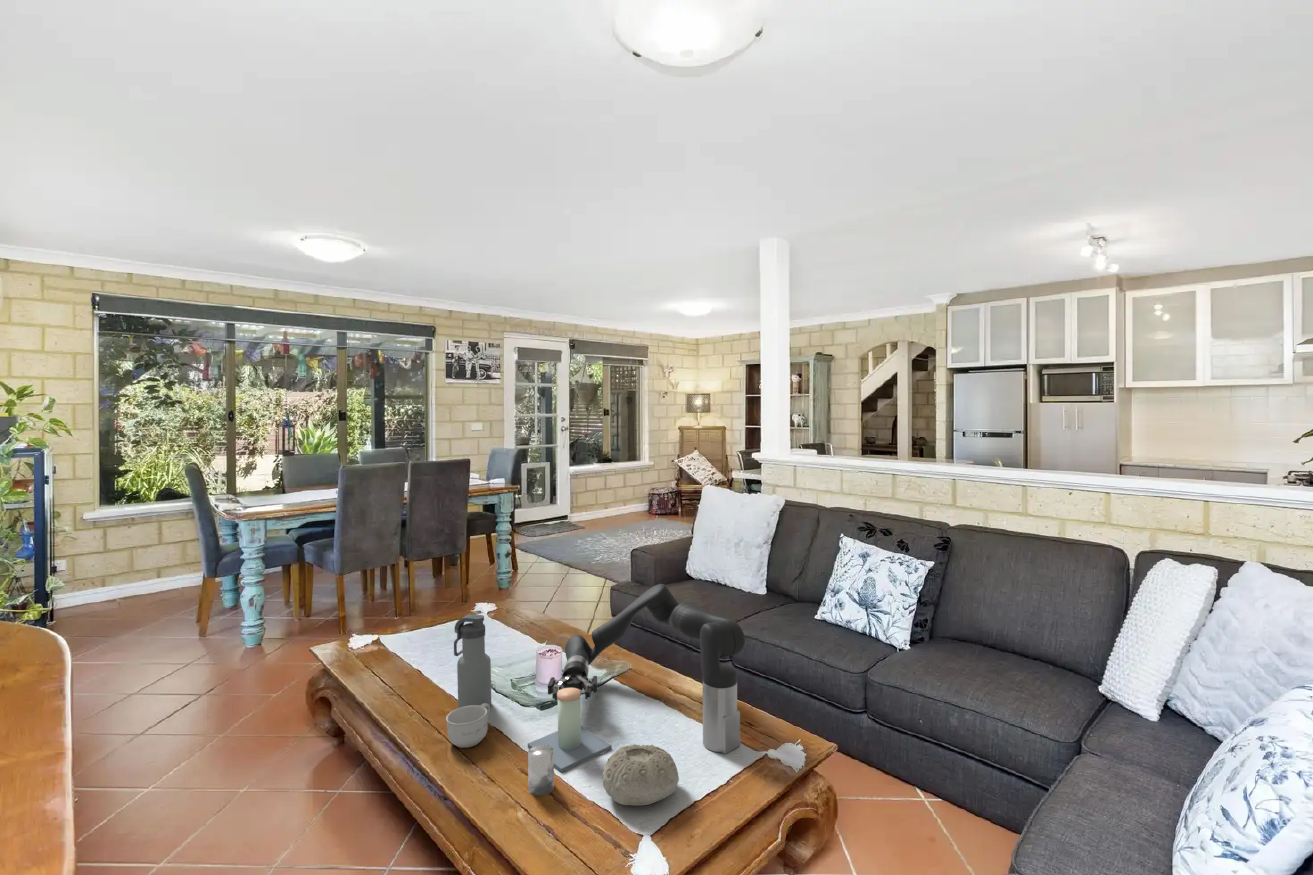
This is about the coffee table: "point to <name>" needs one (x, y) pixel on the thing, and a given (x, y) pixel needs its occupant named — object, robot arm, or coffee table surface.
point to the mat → (571, 758)
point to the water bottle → (472, 662)
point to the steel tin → (541, 770)
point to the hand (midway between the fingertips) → (570, 696)
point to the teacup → (468, 725)
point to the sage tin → (569, 718)
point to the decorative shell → (640, 775)
